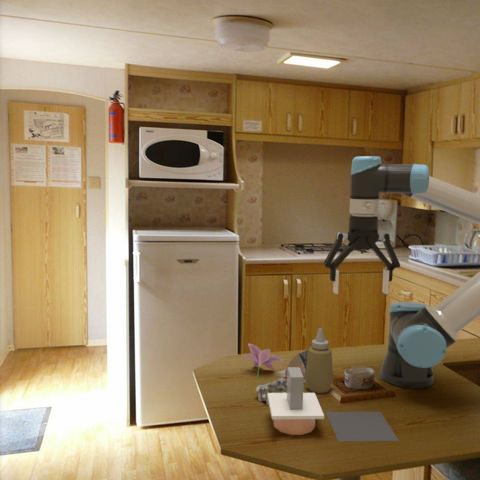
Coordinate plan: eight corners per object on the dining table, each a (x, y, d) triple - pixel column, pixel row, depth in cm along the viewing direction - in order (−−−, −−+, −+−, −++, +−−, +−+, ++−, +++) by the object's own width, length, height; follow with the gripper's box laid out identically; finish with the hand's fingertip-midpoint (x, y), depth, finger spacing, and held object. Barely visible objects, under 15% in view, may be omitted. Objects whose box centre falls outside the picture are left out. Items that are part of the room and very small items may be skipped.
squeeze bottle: (299, 386, 143) (300, 326, 141) (323, 382, 146) (325, 323, 144) (313, 398, 136) (315, 334, 134) (338, 394, 139) (341, 331, 137)
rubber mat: (379, 413, 128) (380, 411, 128) (399, 443, 114) (399, 440, 114) (325, 414, 127) (325, 411, 127) (338, 443, 114) (338, 441, 113)
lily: (287, 381, 150) (289, 349, 153) (260, 375, 143) (262, 341, 146) (259, 381, 158) (261, 351, 162) (231, 376, 151) (235, 344, 154)
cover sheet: (314, 395, 127) (315, 362, 125) (324, 419, 115) (325, 382, 113) (267, 395, 126) (268, 362, 125) (272, 419, 114) (272, 382, 113)
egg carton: (270, 409, 131) (271, 394, 130) (253, 398, 136) (253, 384, 136) (300, 398, 137) (300, 383, 136) (282, 388, 143) (282, 374, 142)
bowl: (310, 416, 126) (311, 397, 125) (317, 436, 116) (318, 416, 116) (271, 416, 126) (272, 397, 125) (275, 437, 116) (276, 416, 115)
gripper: (319, 215, 129) (317, 296, 132) (415, 216, 130) (410, 296, 132) (314, 213, 136) (312, 289, 139) (405, 214, 137) (400, 289, 140)
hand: (360, 293), depth 136 cm, fingers open, 13 cm apart
